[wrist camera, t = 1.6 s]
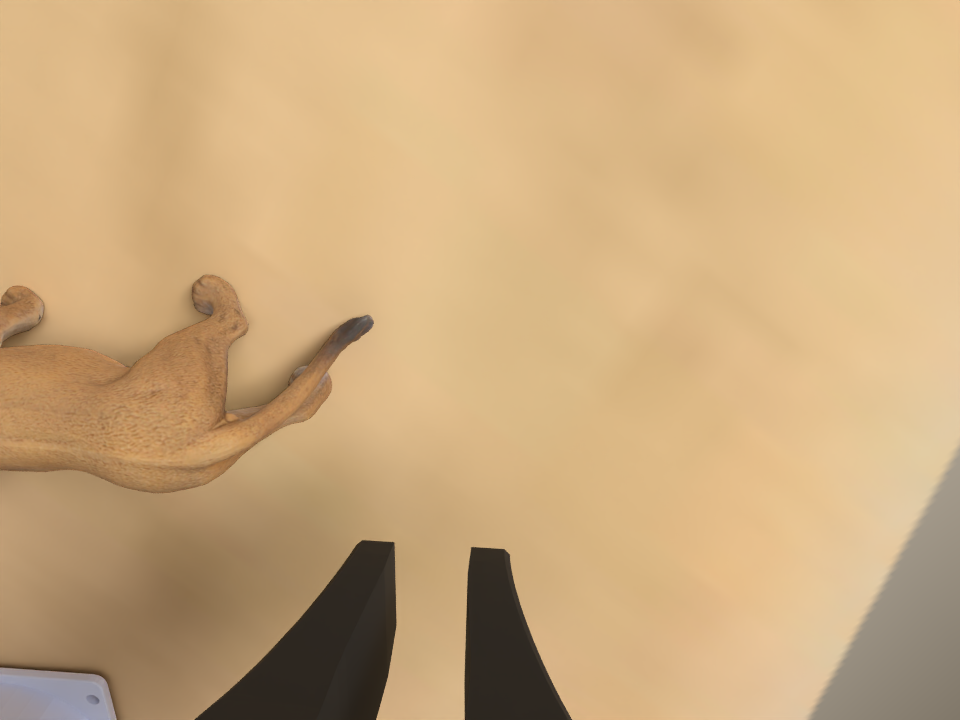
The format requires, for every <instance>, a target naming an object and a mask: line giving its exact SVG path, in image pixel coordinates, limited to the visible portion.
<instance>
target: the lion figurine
mask: <svg viewBox="0 0 960 720" xmlns="http://www.w3.org/2000/svg"><path fill="white" fill-rule="evenodd" d="M192 299H193V302H194V306H195V308H196V309H197V310H198V311H199V312H202V313H205V314H209V315H211V317H210V318H208V319H206V320H205V321H202V322H200V323H197V324H195V325H192V326H190V327H188V328H185V329H183V330H181V331H179V332H176V333H174V334H172V335H169V336H167V337H165V338H164V339H163V340H161V341H160V342H159V343H158V344H157V345H156V347H155V348H154V349H153V350H152V351H151V352H149V353H148V354H146V355H145V356H144V357H142V358H141V359H139V360H138V361H137V362H136V363H135V364H134V365H133V367H132V368H128V367H126V366H124V365H123V364H121V363H119V362H117V361H115V360H113V359H112V358H109V357H107V356H105V355H102V354H100V353H98V352H96V351H93V350H90V349H84V348H77V347H70V346H63V345H31V346H18V347H9V348H1V346H2V342H3V341H4V340H6V339H7V338H9V337H10V336H12V335H15V334H17V333H20V332H24V331H28V330H30V329H31V328H32V327H33V326H35V325H36V324H38V323H39V321H40V320H41V319H42V316H43V310H44V306H43V303H42V301H41V300H40V299H39V298H38V297H37V296H36V295H35V294H34V293H33V292H32V291H31V290H29V289H28V288H25V287H22V286H13V287H11V288H9V289H8V290H7V292H6V293H5V294H4V295H3V296H2V302H1V305H0V470H8V471H34V472H47V471H56V470H79V471H84V472H88V473H90V474H93V475H95V476H98V477H100V478H102V479H105V480H107V481H109V482H111V483H114V484H116V485H119V486H122V487H125V488H129V489H134V490H138V491H144V492H151V493H168V492H174V491H179V490H184V489H189V488H194V487H198V486H201V485H205V484H207V483H209V482H210V481H212V480H214V479H215V478H217V477H219V476H220V475H221V474H223V473H224V472H225V471H226V470H227V469H228V468H230V467H231V466H232V465H233V464H234V463H235V462H236V461H237V460H238V459H239V458H240V457H241V456H242V455H243V454H244V453H245V452H247V451H248V450H249V449H250V448H252V447H253V446H254V445H256V444H257V443H258V442H260V441H261V440H263V439H264V438H266V437H268V436H269V435H271V434H272V433H274V432H275V431H277V430H279V429H280V428H283V427H285V426H287V425H290V424H294V423H299V422H304V421H305V420H308V419H309V418H311V417H312V416H313V415H314V414H315V413H316V412H317V410H318V409H319V407H320V406H321V405H322V404H323V402H324V401H325V400H326V399H327V398H328V396H329V394H330V392H331V388H332V383H331V379H330V376H329V374H328V373H327V370H328V369H329V368H330V366H331V365H332V364H333V362H334V361H335V359H336V358H337V357H338V355H339V354H340V352H341V351H343V350H344V349H345V348H346V347H347V346H348V345H349V344H350V343H352V342H354V341H357V340H359V338H360V337H361V336H362V335H364V334H365V333H367V332H368V331H369V330H370V329H371V328H372V326H373V324H374V322H373V319H372V317H371V316H369V315H366V316H364V317H360V318H352V319H351V320H349V321H347V322H346V323H344V324H343V325H341V326H340V327H339V328H338V329H336V330H335V331H334V332H333V334H332V335H331V336H330V338H329V339H328V341H327V342H326V343H325V344H324V345H323V347H322V348H321V349H320V351H319V352H318V354H317V355H316V356H315V358H314V359H313V360H312V361H311V363H310V364H309V365H308V366H301V367H299V368H297V369H296V370H295V371H294V373H293V375H292V377H291V378H290V380H289V387H288V388H287V389H285V390H284V391H283V392H282V393H281V394H279V395H278V396H277V397H276V398H275V399H274V400H272V401H271V402H270V403H269V404H266V405H262V406H256V407H249V408H243V409H238V410H230V411H225V401H226V392H227V374H228V349H229V347H230V345H231V344H232V343H233V342H234V341H235V340H236V339H238V338H240V337H241V336H243V335H245V334H246V332H247V331H248V323H247V320H246V318H245V316H244V314H243V312H242V310H241V307H240V305H239V301H238V299H237V296H236V293H235V291H234V289H233V288H232V287H231V286H230V285H229V284H228V283H227V282H226V281H224V280H222V279H221V278H219V277H216V276H213V275H204V276H202V277H201V278H200V279H198V280H197V281H196V282H195V283H194V284H193V290H192Z"/></svg>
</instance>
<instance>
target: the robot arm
mask: <svg viewBox="0 0 960 720" xmlns="http://www.w3.org/2000/svg"><path fill="white" fill-rule="evenodd" d="M395 630H396V588H395V547H394V542H381V541H365V540H362V541H361V542H360V543H358V544H357V545H356V547H355V548H354V550H353V551H352V552H351V554H350V555H349V557H348V558H347V560H346V561H345V562H344V564H343V565H342V567H341V568H340V569H339V571H338V572H337V573H336V575H335V576H334V577H333V579H332V580H331V581H330V582H329V584H328V585H327V586H326V588H325V589H324V590H323V591H322V593H321V594H320V595H319V596H318V597H317V599H316V600H315V601H314V602H313V603H312V605H311V606H310V607H309V608H308V610H307V611H306V612H305V613H304V614H303V616H302V617H301V618H300V619H299V620H298V621H297V622H296V624H295V625H294V626H293V627H292V628H291V629H290V630H289V631H288V632H287V633H286V634H285V635H284V637H283V638H282V639H281V640H280V641H279V642H278V643H277V644H276V645H275V646H274V647H273V648H272V649H271V651H270V652H269V653H268V654H267V655H266V656H265V657H264V658H263V659H262V660H261V661H260V662H259V663H258V664H257V665H256V666H255V667H254V668H253V669H252V670H251V671H249V672H248V673H247V674H246V675H245V676H244V677H243V678H242V679H241V680H240V681H239V682H238V683H237V684H235V685H234V686H233V687H232V688H231V689H230V690H229V691H228V692H227V693H226V694H224V695H223V696H222V697H221V698H220V699H219V700H217V701H216V702H215V703H214V704H213V705H211V706H210V707H209V708H208V709H207V710H205V711H204V712H203V713H202V714H201V715H199V716H198V717H197V718H196V719H195V720H376V718H377V714H378V711H379V707H380V704H381V700H382V696H383V693H384V689H385V685H386V682H387V678H388V673H389V667H390V661H391V655H392V649H393V643H394V637H395ZM0 720H117V718H116V715H115V711H114V707H113V703H112V699H111V695H110V692H109V688H108V684H107V682H106V680H105V679H104V678H103V677H101V676H99V675H95V674H85V673H71V672H56V671H42V670H28V669H14V668H0ZM465 720H572V719H571V717H570V715H569V713H568V712H567V710H566V708H565V706H564V704H563V703H562V701H561V699H560V697H559V695H558V693H557V691H556V689H555V687H554V685H553V683H552V681H551V679H550V677H549V675H548V673H547V671H546V668H545V666H544V664H543V662H542V660H541V657H540V655H539V653H538V650H537V648H536V646H535V643H534V641H533V638H532V636H531V633H530V630H529V628H528V625H527V622H526V620H525V617H524V614H523V611H522V608H521V605H520V602H519V599H518V595H517V592H516V588H515V584H514V580H513V576H512V571H511V564H510V555H509V554H508V553H507V552H506V551H505V549H493V548H477V547H471V554H470V561H469V569H468V585H467V618H466V651H465Z"/></svg>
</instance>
